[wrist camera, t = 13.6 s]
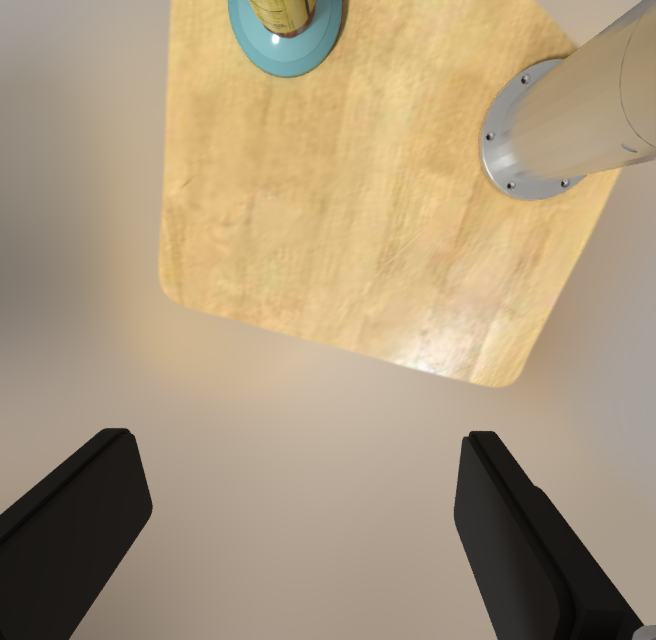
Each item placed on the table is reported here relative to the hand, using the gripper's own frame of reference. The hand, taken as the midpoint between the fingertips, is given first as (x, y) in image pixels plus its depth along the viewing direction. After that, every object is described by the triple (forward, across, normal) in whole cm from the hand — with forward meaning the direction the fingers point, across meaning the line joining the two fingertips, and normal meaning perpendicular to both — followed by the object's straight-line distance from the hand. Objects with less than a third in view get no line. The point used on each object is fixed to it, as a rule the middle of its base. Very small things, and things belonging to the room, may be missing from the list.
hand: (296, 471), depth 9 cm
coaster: (+30, +4, -27) cm, 41 cm away
